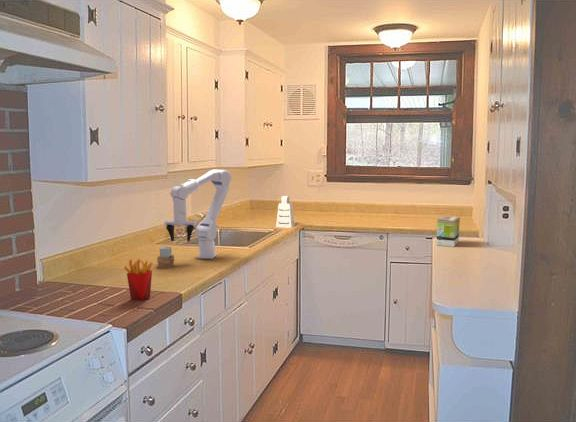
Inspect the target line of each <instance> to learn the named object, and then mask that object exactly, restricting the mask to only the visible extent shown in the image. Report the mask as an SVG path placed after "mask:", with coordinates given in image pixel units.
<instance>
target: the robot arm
mask: <svg viewBox="0 0 576 422" xmlns="http://www.w3.org/2000/svg"><path fill="white" fill-rule="evenodd" d="M231 180H232V176H231V172H230V171H229V170H227V169H216V168H214V169H211V170H209V171H208V172H206V173H204V174H203V175H201V176H200V177H198V178H196V179H194V178H192V179H191V178H189V179H187V181H186V182H185V181H184V183H180V184H179V186H178V185H177V186H173V187H172V189H171V191H170V193H169V194H170V196H171V198H172V203H173V220H165V221H164V226H166V227H165V228H166V230H167V232H168V234H169V237H170V241H171V242H174V241H175V227H177V226H179V227H181V226H182V227H183V226H185V227H186V236H187V238H186V240H187V242H190V241H191V237H192V233H193V231H194V229H195V231H194V232H195V236H196V237H197V240H198V256H197V257H196V259H208V260H209V259H211V260H213V259H214V258H215V257H216V256H217V255H218V254H217V253H216V246H215V245H216V243H215V241H214V240H215V238H216V236H217V233H218V225H217V219H218V217H219V215H220V213H221V210H222V208H223V205H224V202H225V200H226V198H227V196H228V193H229V189H230V188H229V187H230V182H231ZM209 182H211V183H212V185H213V186H214V188H215V189H216V191H215V193H214V195H213V198H212V201H211V202H210V206H209V208H208V211H207V213H206V215H205V218H204V219H202V220H201V221H200V222H199V224H198V225H197V222H196V221H193V220H187V200H186V199H187V198H188V197H189V195H190V194H193V193H194V192H196V191H198V190H199V187H200V186H203V185H205V184H207V183H209ZM195 227H196V228H195Z"/></svg>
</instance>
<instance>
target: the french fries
mask: <svg viewBox="0 0 576 422" xmlns="http://www.w3.org/2000/svg"><path fill="white" fill-rule="evenodd" d="M140 263H141V265H142V267H140V266H141V265H140ZM153 263H154V262H151V261H150V262H149V260H145V261H144V260H142V259H141V258H137V260H135V261H134V262H133V259H132V258H130V259H128V265H129V268H128V267H127V265H124V267H123V268H124V270H125V271H126V272H127V273H126V277H127V283H128V289H129V294H130V300H131V301H142V302H143V301H145V300H147V299H149V298H150V297H151V289H152V279H153V277H152V276H153V270H151V268H152V266H153V265H154V264H153Z"/></svg>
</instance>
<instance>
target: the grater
mask: <svg viewBox="0 0 576 422" xmlns="http://www.w3.org/2000/svg"><path fill="white" fill-rule="evenodd" d="M293 206H294V205H293V202H291V201H290V195H282V196H281V202H278V205H277V215H276V223H275V228H287V229H289V228H290V229H292V228H293V227H295V226H296V223H295V215H294V207H293Z"/></svg>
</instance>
